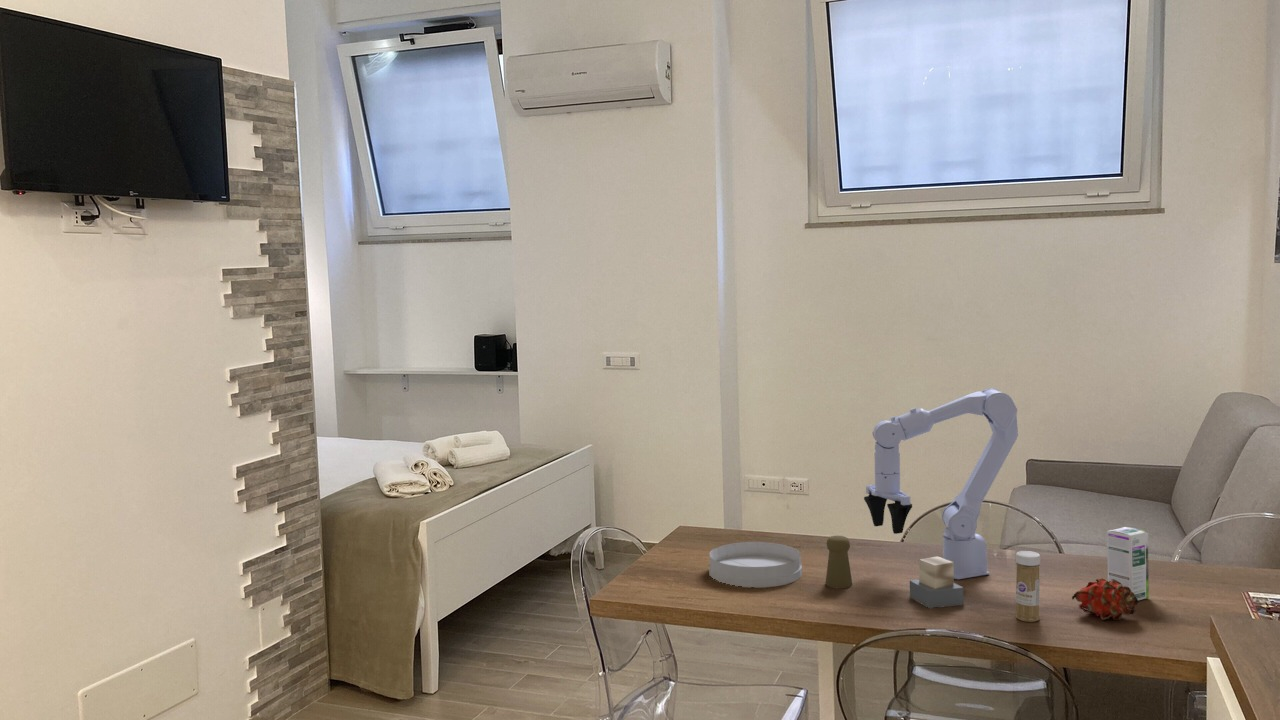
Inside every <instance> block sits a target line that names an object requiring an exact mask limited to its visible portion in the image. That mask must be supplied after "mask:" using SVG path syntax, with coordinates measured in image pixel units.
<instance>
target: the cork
mask: <svg viewBox="0 0 1280 720" xmlns="http://www.w3.org/2000/svg"><path fill="white" fill-rule="evenodd" d="M850 547H851V542H850V540H849V538H848V537H847V536H843V535H832V536H829V537H828V538H827V540H826V548H827V550H828V559H827V569H826V576H825V583H826V584H825V585H826V586H827V585H828V586H827V587H830V588H836V589H845V588H846V587H847V588H850V587H852V586H853V580H852V573H851V566H850V559H849V553H848V551H849V550H850Z"/></svg>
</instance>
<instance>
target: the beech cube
mask: <svg viewBox="0 0 1280 720" xmlns="http://www.w3.org/2000/svg"><path fill="white" fill-rule="evenodd" d="M918 574H919V575H918V579H919V582H920V583H922V584H925V585H927V586H930V587H932V588H934V589H936V588H942V587H947V586H952V585H954V583H955V581H954V580H955V579H954V562H952V561H949V560H946V559H943V557H940V556H932V557H926V558H920V559H919V560H918Z"/></svg>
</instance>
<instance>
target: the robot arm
mask: <svg viewBox="0 0 1280 720" xmlns="http://www.w3.org/2000/svg"><path fill="white" fill-rule="evenodd" d="M965 414H971V415H977V416H984V417H985V418H986V420H987V421H988V423H989V426H990V428H991V431H992V434H991V436H990V438H989V439H988V442H987V443H986V445H985V446H984V449H983V450H982V453H981V455H980V456H979V459H978V461H977V462H976V463H975V466H974V468H973V469H972V472H971V473H970V475H969V477H968V479H967V480H966V483H965V484H964V486H963V488H962V489H961V492H960V493H958V494H957V495H956V496H955V497H954V498H953V501H952V502H951V503H950V504H948V505H947V506H946V507H944V509H943V510H942V513H941V519H942V522H943V524H944V525H945V526H946V528H945V530H944V531H943V532H942V544H943V545H942V558H943V559H946V560H949V561H952V562H954V580H963V579H968V578H969V579H971V578H974V577H975V578H976V577H980V576H986V575H990V572H989V571H988V555H987V554H988V548H987V542H986V541H985V538H984V537H983V536H982V535H981V534H979V533H976V532H977V527H978V525H977V524H978V523H977V522H978V519H979V516H980V515H981V509H982V504H983V502H984V500H985V497H986V496H987V494H988V492H989V490H990V489H991V486H993V484H994V481H995V479H996V477H998V474H999V472H1000V470H1001V468H1002V467H1003V464H1004V463H1005V461H1006V460H1007V457H1008V456H1009V454H1010V452H1011V449H1012V448H1013V447H1014V444H1015V443H1016V441H1017V438H1018V436H1019V430H1018V418H1017V415H1018V408H1017V406H1016V404H1015V402H1014V400H1013V398H1012V397H1011V396H1010V395H1008V394H1007V393H1005V392H1002V391H1000V390H999V389H997V388H991V387H990V388H986V389H984V390H980V391H974V392H971V393H969V394H967V395H964V396H961V397H959V398H956V399H954V400H952V401H949V402H946V403H945V404H942V405H940V406H937V407H935V408H933V409H930V410H927V409H924V408H922V407H921V408H916V407H912V408H910V409H909V411H908V412H907V413H904V414H901V415H899V416H896V417H895V415H893V416H890V420H886V419H885V420H881V421H879V422H877V423H876V425H875V426H874V427H873V431H872V436H873V438H874V440H875V444H874V450H875V452H874V484H869V485H865V493H866V494H867V495H868V496H864V497H863V500H864V501H865V503H866V505H867V507H868V510H869V512H870V516H871V519H872V523H873V524H872V525H873V526H874V527H882V526H884V519H885V508H886V505H887V508H888V511H889V513H890V518H891V526H892V527H891V528H892V531H893V532H892V533H893V534H895V535H898V534H903V532H904V527H905V524H906V520H907V518H908V515H909V513H910V511H911V510H912V508H913V503H911V496H910V495H908V494H906V493H905V492H903V491H902V490H901V467H900V466H901V460H900V459H901V458H900V457H901V456H900V455H901V454H900V450H899V449H900V443H901V441H907V440H910V439H913V438H916V437H918V436H920V435H923V434H926V433H929V432H931V430H932V428H933V426H934V424H938V423H941V422H944V421H947V420H950V419H953V418H956V417H960V416H962V415H965ZM888 500H889V501H891V502H892V503H887V501H888ZM886 503H887V504H886Z"/></svg>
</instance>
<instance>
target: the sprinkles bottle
mask: <svg viewBox="0 0 1280 720" xmlns="http://www.w3.org/2000/svg"><path fill="white" fill-rule="evenodd" d="M1015 563H1016V581H1015V582H1016V585H1015V603H1016V605H1015V606H1016V609H1015V610H1016V611H1015V618H1016V619H1017V620H1019V621H1022V622H1025V623H1027V622H1028V623H1035V622H1038V621H1040V618H1041V617H1040V579H1041V578H1040V566H1041V555H1040V554H1039V553H1038V552H1035V551H1029V550H1020V551H1017V552H1016V553H1015Z"/></svg>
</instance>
